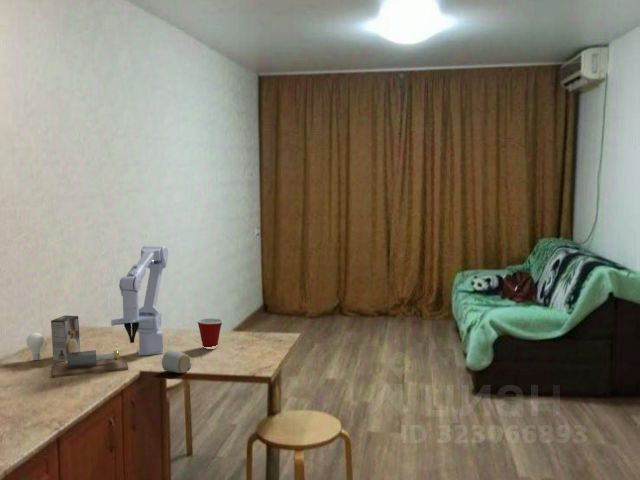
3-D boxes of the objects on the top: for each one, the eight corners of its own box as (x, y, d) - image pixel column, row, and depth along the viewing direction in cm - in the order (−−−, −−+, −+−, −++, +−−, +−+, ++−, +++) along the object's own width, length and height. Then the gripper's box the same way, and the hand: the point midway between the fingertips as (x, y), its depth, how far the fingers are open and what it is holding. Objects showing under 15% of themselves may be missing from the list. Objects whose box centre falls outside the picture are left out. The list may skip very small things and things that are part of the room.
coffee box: (66, 353, 252) (64, 314, 250) (80, 354, 250) (79, 315, 249) (52, 360, 243) (50, 320, 241) (67, 361, 242) (65, 321, 240)
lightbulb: (49, 359, 244) (47, 331, 243) (35, 363, 239) (34, 335, 237) (37, 357, 247) (36, 330, 246) (23, 361, 241) (22, 333, 240)
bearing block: (96, 362, 237) (96, 350, 237) (96, 366, 232) (96, 354, 231) (68, 365, 234) (67, 352, 233) (67, 369, 228) (67, 357, 228)
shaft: (118, 358, 239) (118, 349, 238) (119, 361, 235) (118, 351, 235) (73, 362, 233) (73, 353, 233) (73, 365, 230) (73, 356, 230)
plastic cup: (229, 346, 262) (228, 318, 261) (211, 353, 253) (210, 324, 251) (209, 342, 268) (209, 315, 266) (191, 348, 259) (191, 320, 257)
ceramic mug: (179, 376, 224) (179, 355, 224) (161, 373, 228) (161, 352, 227) (197, 368, 234) (197, 348, 233) (179, 365, 237) (179, 345, 237)
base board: (126, 358, 245) (126, 356, 245) (128, 369, 232) (128, 366, 232) (54, 366, 236) (54, 363, 236) (52, 377, 223) (52, 374, 223)
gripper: (111, 311, 230) (112, 346, 232) (151, 308, 235) (152, 343, 237) (110, 307, 237) (111, 341, 238) (149, 304, 242) (150, 338, 243)
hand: (132, 342), depth 238 cm, fingers closed
